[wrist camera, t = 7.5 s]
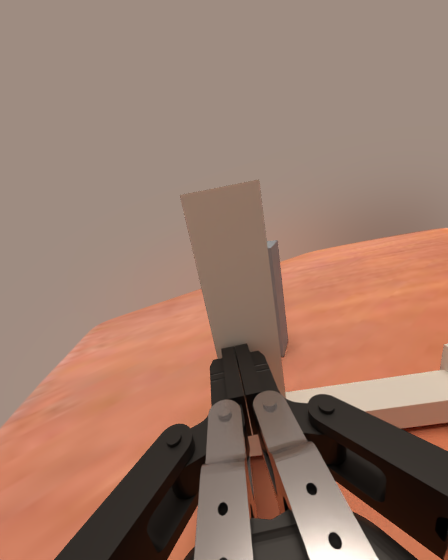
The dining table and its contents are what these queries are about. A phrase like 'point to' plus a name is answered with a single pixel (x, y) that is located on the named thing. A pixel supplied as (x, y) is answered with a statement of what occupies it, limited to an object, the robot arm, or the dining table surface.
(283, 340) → the post
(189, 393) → the dining table surface
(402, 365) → the dining table surface
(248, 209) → the beige l-shaped bracket
